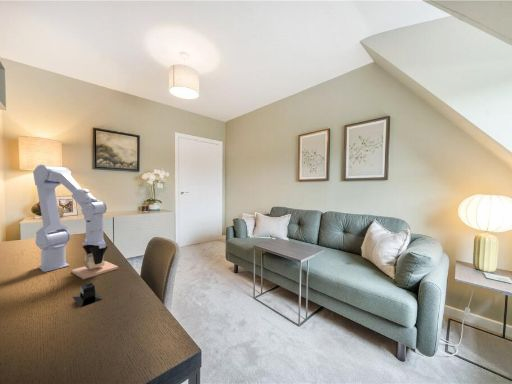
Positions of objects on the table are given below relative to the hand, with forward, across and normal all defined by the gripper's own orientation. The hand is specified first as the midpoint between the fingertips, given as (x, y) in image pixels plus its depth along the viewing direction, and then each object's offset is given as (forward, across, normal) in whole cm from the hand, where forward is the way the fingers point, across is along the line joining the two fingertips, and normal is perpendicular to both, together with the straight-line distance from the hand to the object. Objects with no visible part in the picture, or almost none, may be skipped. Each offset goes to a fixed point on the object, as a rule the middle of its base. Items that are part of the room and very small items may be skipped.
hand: (95, 262), depth 86 cm
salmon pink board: (+3, 0, 0) cm, 3 cm away
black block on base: (+4, +23, -11) cm, 26 cm away
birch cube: (+2, 0, 0) cm, 2 cm away
